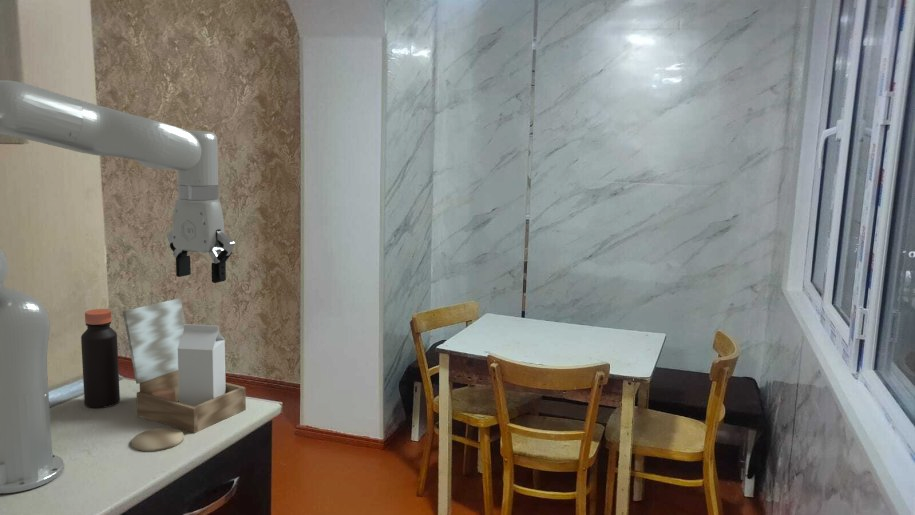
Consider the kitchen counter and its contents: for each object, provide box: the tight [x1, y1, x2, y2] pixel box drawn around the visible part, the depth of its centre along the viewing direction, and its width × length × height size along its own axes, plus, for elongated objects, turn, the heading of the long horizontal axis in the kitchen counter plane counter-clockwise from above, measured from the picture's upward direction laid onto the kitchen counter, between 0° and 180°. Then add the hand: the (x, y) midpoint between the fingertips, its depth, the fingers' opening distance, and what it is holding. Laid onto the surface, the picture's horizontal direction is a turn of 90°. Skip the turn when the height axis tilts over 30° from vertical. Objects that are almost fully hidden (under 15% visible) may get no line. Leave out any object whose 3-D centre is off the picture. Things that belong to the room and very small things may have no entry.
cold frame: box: [122, 297, 247, 434], centre depth 145 cm, size 14×19×22 cm
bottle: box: [80, 308, 121, 409], centre depth 148 cm, size 7×7×20 cm
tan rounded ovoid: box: [152, 387, 175, 401], centre depth 144 cm, size 4×4×5 cm
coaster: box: [131, 427, 185, 452], centre depth 132 cm, size 9×9×1 cm
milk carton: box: [178, 323, 226, 406], centre depth 144 cm, size 7×7×19 cm
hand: (201, 278), depth 141 cm, fingers open, 9 cm apart
